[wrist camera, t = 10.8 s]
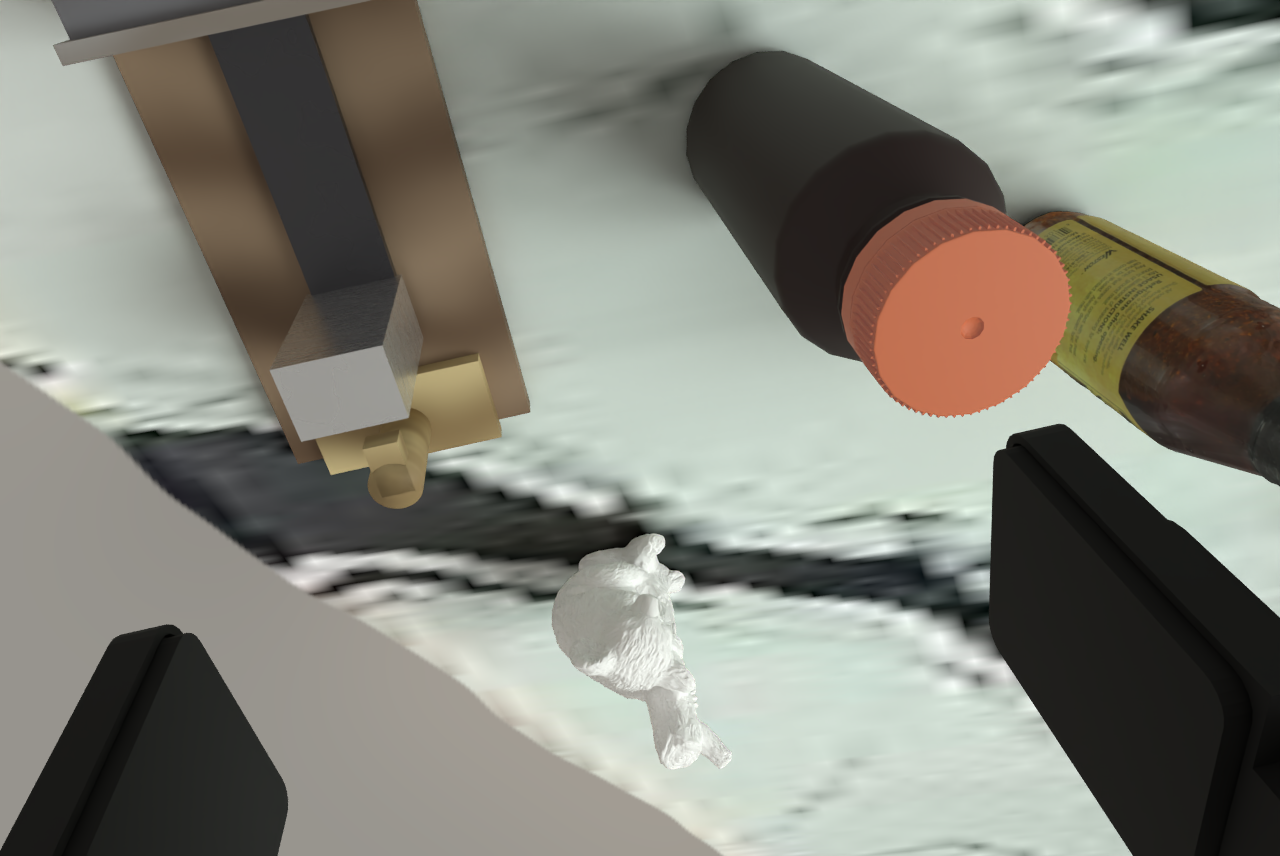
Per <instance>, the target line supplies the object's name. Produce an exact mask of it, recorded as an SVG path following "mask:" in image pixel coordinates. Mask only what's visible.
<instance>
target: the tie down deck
mask: <svg viewBox="0 0 1280 856" xmlns="http://www.w3.org/2000/svg"><path fill="white" fill-rule="evenodd" d="M52 2H53V4H54V6H55V8H56V11H57V13H58V15H59V17H60V19H61V21H62V23H63V25H64V27H65V30H66V32H67V34H68V36H69V38H70V40H68V41H65V42H61V43H58V44H55V45H53V47H54V49H55V51H56V53H57V55H58V57H59V59H60V61H61V63H62V65H63V66H65V65H70V64H75V63H79V62H84V61H89V60H93V59H98V58H103V57H107V56H112V55H113V57H114V59H115V61H116V63H117V65H118V68H119V70H120V72H121V74H122V77H123V79H124V81H125V83H126V85H127V88H128V90H129V92H130V94H131V96H132V99H133V101H134V103H135V105H136V107H137V110H138V112H139V114H140V116H141V118H142V121H143V123H144V125H145V127H146V129H147V132H148V134H149V136H150V138H151V140H152V143H153V145H154V147H155V149H156V151H157V154H158V156H159V158H160V160H161V162H162V165H163V167H164V169H165V171H166V174H167V176H168V178H169V180H170V182H171V185H172V187H173V189H174V191H175V193H176V196H177V198H178V200H179V202H180V204H181V207H182V209H183V211H184V213H185V215H186V218H187V220H188V222H189V224H190V226H191V229H192V231H193V233H194V235H195V237H196V240H197V242H198V244H199V246H200V248H201V251H202V253H203V255H204V257H205V259H206V262H207V264H208V266H209V268H210V271H211V273H212V275H213V277H214V279H215V282H216V284H217V286H218V288H219V290H220V293H221V295H222V297H223V299H224V301H225V304H226V306H227V308H228V310H229V312H230V315H231V317H232V319H233V321H234V323H235V326H236V328H237V330H238V332H239V334H240V337H241V339H242V341H243V343H244V345H245V348H246V350H247V352H248V354H249V356H250V359H251V361H252V363H253V365H254V367H255V370H256V372H257V374H258V376H259V379H260V381H261V383H262V385H263V387H264V390H265V392H266V394H267V396H268V398H269V401H270V403H271V405H272V407H273V409H274V412H275V414H276V416H277V418H278V420H279V423H280V425H281V427H282V429H283V431H284V434H285V436H286V438H287V440H288V442H289V445H290V447H291V449H292V451H293V453H294V456H295V458H296V460H297V462H298V464H300V463H304V462H309V461H313V460H318V459H322V458H324V460H325V462H326V465H327V467H328V469H329V472H330V474H331V475H333V474H338V473H342V472H347V471H351V470H355V469H360V468H364V467H370V470H371V471H370V475H369V480H368V490H369V493H370V495H371V496H372V498H373V499H374V500H375V501H376V502H377V503H379V504H381V505H383V506H385V507H388V508H394V509H399V508H405V507H408V506H411V505H413V504H414V503H415V502H417V501H418V500H419V498H420V497H421V495H422V493H423V487H424V480H425V473H426V465H427V458H428V453H432V452H436V451H441V450H445V449H450V448H454V447H459V446H463V445H468V444H472V443H477V442H481V441H486V440H490V439H495V438H499V437H501V425H500V422H499V419H502V418H507V417H511V416H516V415H520V414H525V413H529V412H530V401H529V398H528V394H527V391H526V387H525V384H524V380H523V376H522V373H521V369H520V366H519V362H518V359H517V355H516V351H515V348H514V344H513V341H512V337H511V334H510V330H509V327H508V323H507V319H506V316H505V312H504V309H503V305H502V302H501V298H500V295H499V291H498V287H497V284H496V280H495V277H494V273H493V270H492V266H491V262H490V259H489V255H488V252H487V248H486V245H485V241H484V238H483V234H482V230H481V227H480V223H479V220H478V216H477V213H476V209H475V206H474V202H473V198H472V195H471V191H470V188H469V184H468V181H467V177H466V173H465V170H464V166H463V163H462V159H461V156H460V152H459V149H458V145H457V141H456V138H455V134H454V131H453V127H452V124H451V120H450V117H449V113H448V109H447V106H446V102H445V99H444V95H443V92H442V88H441V84H440V81H439V77H438V74H437V70H436V67H435V63H434V60H433V56H432V52H431V49H430V45H429V42H428V38H427V35H426V31H425V28H424V24H423V20H422V17H421V13H420V10H419V6H418V3H417V0H52ZM305 14H308V15H309V18H310V21H311V24H312V27H313V30H314V33H315V36H316V38H317V41H318V44H319V47H320V50H321V53H322V56H323V59H324V62H325V65H326V68H327V71H328V74H329V77H330V80H331V83H332V85H333V88H334V91H335V94H336V97H337V100H338V103H339V106H340V109H341V112H342V115H343V118H344V121H345V124H346V127H347V130H348V132H349V135H350V138H351V141H352V144H353V147H354V150H355V153H356V156H357V159H358V162H359V165H360V168H361V171H362V174H363V177H364V179H365V182H366V185H367V188H368V191H369V194H370V197H371V200H372V203H373V206H374V209H375V212H376V215H377V218H378V221H379V224H380V226H381V229H382V232H383V235H384V238H385V241H386V244H387V247H388V250H389V253H390V256H391V259H392V262H393V265H394V268H395V271H396V273H397V275H399V274H402V276H403V279H404V282H405V285H406V288H407V291H408V294H409V297H410V300H411V303H412V306H413V309H414V312H415V315H416V318H417V321H418V324H419V327H420V330H421V333H422V336H423V343H422V349H421V354H420V360H419V365H418V371H417V376H416V382H415V387H414V393H413V398H412V404H411V409H410V415H409V418H407V419H402V420H398V421H393V422H389V423H384V424H380V425H375V426H371V427H366V428H361V429H357V430H352V431H348V432H343V433H339V434H334V435H330V436H325V437H321V438H316V439H312V440H307V441H303V442H301V440H300V438H299V436H298V433H297V431H296V429H295V427H294V424H293V422H292V420H291V418H290V415H289V413H288V411H287V409H286V406H285V404H284V402H283V400H282V397H281V395H280V393H279V391H278V388H277V386H276V384H275V382H274V379H273V377H272V375H271V373H270V368H271V366H272V364H273V362H274V360H275V358H276V356H277V354H278V352H279V350H280V348H281V346H282V344H283V342H284V340H285V338H286V336H287V334H288V332H289V330H290V328H291V325H292V323H293V321H294V319H295V317H296V315H297V313H298V311H299V309H300V307H301V305H302V303H303V301H304V299H305V297H306V295H307V294H311V293H310V290H309V288H308V285H307V283H306V280H305V278H304V275H303V273H302V270H301V268H300V265H299V263H298V260H297V258H296V255H295V253H294V250H293V248H292V245H291V243H290V240H289V238H288V235H287V233H286V230H285V228H284V225H283V222H282V220H281V217H280V215H279V212H278V210H277V207H276V205H275V202H274V200H273V197H272V195H271V192H270V190H269V187H268V185H267V182H266V180H265V177H264V175H263V172H262V170H261V167H260V165H259V162H258V160H257V157H256V155H255V152H254V150H253V147H252V145H251V142H250V140H249V137H248V135H247V132H246V129H245V127H244V124H243V122H242V119H241V117H240V114H239V112H238V109H237V107H236V104H235V102H234V99H233V97H232V94H231V92H230V89H229V87H228V84H227V82H226V79H225V77H224V74H223V72H222V69H221V67H220V64H219V62H218V59H217V57H216V54H215V52H214V49H213V47H212V44H211V42H210V39H209V36H208V35H211V34H216V33H220V32H225V31H230V30H234V29H239V28H244V27H248V26H253V25H258V24H263V23H267V22H272V21H277V20H281V19H286V18H291V17H295V16H300V15H305Z"/></svg>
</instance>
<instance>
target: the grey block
mask: <svg viewBox="0 0 1280 856" xmlns="http://www.w3.org/2000/svg"><path fill="white" fill-rule="evenodd" d="M208 36H209V39H210V42H211V44H212V47H213V49H214V52H215V54H216V57H217V59H218V62H219V64H220V67H221V69H222V72H223V74H224V77H225V79H226V82H227V84H228V87H229V89H230V92H231V94H232V97H233V99H234V102H235V104H236V107H237V109H238V112H239V114H240V117H241V119H242V122H243V124H244V127H245V129H246V132H247V135H248V137H249V140H250V142H251V145H252V147H253V150H254V152H255V155H256V157H257V160H258V162H259V165H260V167H261V170H262V172H263V175H264V177H265V180H266V182H267V185H268V187H269V190H270V192H271V195H272V197H273V200H274V202H275V205H276V207H277V210H278V212H279V215H280V217H281V220H282V222H283V225H284V228H285V230H286V233H287V235H288V238H289V240H290V243H291V245H292V248H293V250H294V253H295V255H296V258H297V260H298V263H299V265H300V268H301V270H302V273H303V275H304V278H305V280H306V283H307V285H308V288H309V290H310V293H311V294H307V295H306V297H305V299H304V301H303V303H302V305H301V307H300V309H299V311H298V313H297V315H296V317H295V319H294V321H293V323H292V325H291V328H290V330H289V332H288V334H287V336H286V338H285V340H284V342H283V344H282V346H281V348H280V350H279V352H278V354H277V356H276V358H275V360H274V362H273V364H272V366H271V368H270V373H271V375H272V377H273V379H274V382H275V384H276V386H277V388H278V391H279V393H280V395H281V397H282V400H283V402H284V404H285V406H286V409H287V411H288V413H289V415H290V418H291V420H292V422H293V424H294V427H295V429H296V431H297V433H298V436H299V438H300V440H301V442H303V441H307V440H312V439H316V438H321V437H325V436H330V435H334V434H339V433H343V432H348V431H352V430H357V429H361V428H366V427H371V426H375V425H380V424H384V423H389V422H393V421H398V420H402V419H407V418H409V415H410V409H411V404H412V398H413V393H414V387H415V382H416V376H417V371H418V365H419V360H420V354H421V349H422V343H423V336H422V333H421V330H420V327H419V324H418V321H417V318H416V315H415V312H414V309H413V306H412V303H411V300H410V297H409V294H408V291H407V288H406V285H405V282H404V279H403V276H402V274H399V275H397V273H396V271H395V268H394V265H393V262H392V259H391V256H390V253H389V250H388V247H387V244H386V241H385V238H384V235H383V232H382V229H381V226H380V224H379V221H378V218H377V215H376V212H375V209H374V206H373V203H372V200H371V197H370V194H369V191H368V188H367V185H366V182H365V179H364V177H363V174H362V171H361V168H360V165H359V162H358V159H357V156H356V153H355V150H354V147H353V144H352V141H351V138H350V135H349V132H348V130H347V127H346V124H345V121H344V118H343V115H342V112H341V109H340V106H339V103H338V100H337V97H336V94H335V91H334V88H333V85H332V83H331V80H330V77H329V74H328V71H327V68H326V65H325V62H324V59H323V56H322V53H321V50H320V47H319V44H318V41H317V38H316V36H315V33H314V30H313V27H312V24H311V21H310V18H309V15H308V14H305V15H300V16H295V17H291V18H286V19H281V20H277V21H272V22H267V23H263V24H258V25H253V26H248V27H244V28H239V29H234V30H230V31H225V32H220V33H216V34H211V35H208Z"/></svg>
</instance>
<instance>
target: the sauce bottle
mask: <svg viewBox="0 0 1280 856" xmlns="http://www.w3.org/2000/svg"><path fill="white" fill-rule="evenodd" d="M1024 227H1026V228H1027V229H1029V230H1030V231H1032V232H1033V233H1035V234H1037V235H1038V236H1039V237H1041V238H1042V239H1044V240H1045V241H1046V243H1048V244H1050V245H1051V246H1052V247H1051V248H1052V249H1054V250H1055V251H1057V253H1056V255H1058V256H1059V257H1061V259H1060V260H1059V261H1061V262H1062V263H1064V264H1065V266H1064V267H1063V269H1065V270H1066V271H1068V273H1067V274H1066V276H1067V277H1068V278H1069V279H1070V280H1069V281H1068V285H1070V286H1071V288H1070V289H1069V293H1070V294H1072V296H1071V297H1069V300H1070V302H1071V303H1072V304H1071V305H1070V309H1069V310H1070V311H1071V312H1070V313H1068V317H1067V318H1068V319H1070V320H1069V321H1067V322H1066V327H1067V329H1065V330H1064V334H1063V335H1064V337H1062V339H1061V340H1060V342H1059V343H1060V345H1058V346H1057V347H1056V349H1055V351H1056V353H1053V355H1052V356H1051V360H1050V361H1051V362H1053V363H1054V364H1055V365H1057V366H1058V367H1059V368H1060V369H1062V370H1063V371H1064V372H1065V373H1067V374H1068V375H1069V376H1070V377H1071V378H1073V379H1074V380H1075V381H1076V382H1078V383H1079V384H1080V385H1082V386H1084V387H1085V388H1087V389H1088V390H1090V391H1091V393H1093V394H1094V395H1095V396H1096V397H1098V398H1099V399H1101V400H1102V401H1103V402H1105V404H1107V405H1108V406H1110V407H1111V408H1113V409H1114V410H1115V411H1116V412H1118V413H1119V414H1120V415H1122V416H1123V417H1124V418H1126V420H1127V421H1129V422H1130V423H1132V424H1133V425H1134V426H1136V427H1137V428H1138V429H1139V430H1141V431H1142V432H1144V433H1145V434H1146V435H1148V436H1149V437H1150V438H1152V439H1153V440H1154V441H1156V442H1157V443H1159V444H1160V445H1162V446H1164V447H1166V448H1168V449H1170V450H1173V451H1176V452H1179V453H1183V454H1186V455H1190V456H1193V457H1197V458H1200V459H1204V460H1207V461H1210V462H1214V463H1217V464H1221V465H1224V466H1228V467H1231V468H1235V469H1238V470H1242V471H1245V472H1249V473H1252V474H1256V475H1259V476H1263V477H1264V478H1265V479H1267V480H1268V481H1269V482H1271V483H1274V484H1277V485H1279V486H1280V308H1278V307H1276V306H1274V305H1271V304H1269V303H1268V302H1266V301H1264V300H1261V299H1260V298H1259V297H1258V296H1257V295H1256V294H1255V293H1253V292H1252V291H1250V290H1248V289H1247V288H1245V287H1242V286H1240V285H1238V284H1236V283H1234V282H1232V281H1230V280H1228V279H1226V278H1224V277H1221V276H1219V275H1217V274H1215V273H1213V272H1211V271H1209V270H1207V269H1205V268H1203V267H1201V266H1199V265H1197V264H1195V263H1193V262H1191V261H1189V260H1187V259H1185V258H1183V257H1181V256H1179V255H1177V254H1175V253H1172V252H1170V251H1168V250H1166V249H1164V248H1162V247H1160V246H1158V245H1156V244H1154V243H1152V242H1150V241H1148V240H1146V239H1144V238H1142V237H1140V236H1138V235H1135V234H1133V233H1131V232H1129V231H1127V230H1125V229H1123V228H1121V227H1119V226H1117V225H1115V224H1113V223H1111V222H1109V221H1107V220H1104V219H1102V218H1098V217H1094V216H1088V215H1085V214H1082V213H1075V212H1061V211H1060V212H1050V213H1047V214H1045V215H1041V216H1039V217H1037V218H1035V219H1033V220H1032V221H1031V222H1029V223H1027V224H1026V225H1025V226H1024Z"/></svg>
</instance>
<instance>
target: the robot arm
mask: <svg viewBox="0 0 1280 856" xmlns="http://www.w3.org/2000/svg"><path fill="white" fill-rule="evenodd" d="M989 625H990V630H991V634H992V637H993V640H994V642H995V645H996V647H997V648H998V650H999V652H1000V654H1001V655H1002V657H1003V658H1004V660H1005V661H1006V663H1007V664H1008V666H1009V667H1010V669H1011V670H1012V672H1013V673H1014V675H1015V676H1016V678H1017V680H1018V681H1019V683H1020V684H1021V686H1022V687H1023V689H1024V690H1025V692H1026V693H1027V695H1028V696H1029V698H1030V699H1031V701H1032V702H1033V704H1034V705H1035V707H1036V709H1037V710H1038V712H1039V713H1040V715H1041V716H1042V718H1043V719H1044V721H1045V722H1046V724H1047V725H1048V727H1049V728H1050V730H1051V731H1052V733H1053V734H1054V736H1055V737H1056V739H1057V741H1058V742H1059V744H1060V745H1061V747H1062V748H1063V750H1064V751H1065V753H1066V754H1067V756H1068V757H1069V759H1070V760H1071V762H1072V763H1073V765H1074V766H1075V768H1076V769H1077V771H1078V773H1079V774H1080V776H1081V777H1082V779H1083V780H1084V782H1085V783H1086V785H1087V786H1088V788H1089V789H1090V791H1091V792H1092V794H1093V795H1094V797H1095V798H1096V800H1097V802H1098V803H1099V805H1100V806H1101V808H1102V809H1103V811H1104V812H1105V814H1106V815H1107V817H1108V818H1109V820H1110V821H1111V823H1112V824H1113V826H1114V827H1115V829H1116V830H1117V832H1118V834H1119V835H1120V837H1121V838H1122V840H1123V841H1124V843H1125V844H1126V846H1127V847H1128V849H1129V850H1130V852H1131V853H1132V855H1133V856H1280V617H1278V616H1277V615H1276V614H1275V613H1274V612H1273V611H1272V610H1271V609H1270V608H1269V607H1268V606H1267V605H1266V604H1265V603H1263V602H1262V601H1261V600H1260V599H1259V598H1258V597H1257V596H1256V595H1255V594H1254V593H1253V592H1252V591H1251V590H1249V589H1248V588H1247V587H1246V586H1245V585H1244V584H1243V583H1242V582H1241V581H1240V580H1239V579H1238V578H1237V577H1235V576H1234V575H1233V574H1232V573H1231V572H1230V571H1229V570H1228V569H1227V568H1226V567H1225V566H1224V565H1223V564H1221V563H1220V562H1219V561H1218V560H1217V559H1216V558H1215V557H1214V556H1213V555H1212V554H1211V553H1210V552H1209V551H1207V550H1206V549H1205V548H1204V547H1203V546H1202V545H1201V544H1200V543H1199V542H1198V541H1197V540H1196V539H1195V538H1194V537H1192V536H1191V535H1190V534H1189V533H1188V532H1187V531H1186V530H1185V529H1183V528H1182V527H1181V526H1179V525H1178V524H1176V523H1175V522H1174V521H1170V520H1167V519H1166V518H1165V517H1164V516H1163V515H1162V514H1161V513H1160V512H1159V511H1158V510H1156V509H1155V508H1154V507H1153V506H1152V505H1151V504H1150V503H1149V502H1148V501H1147V500H1146V499H1145V498H1144V497H1143V496H1142V495H1141V494H1139V493H1138V492H1137V491H1136V490H1135V489H1134V488H1133V487H1132V486H1131V485H1130V484H1129V483H1128V482H1127V481H1126V480H1125V479H1124V478H1122V477H1121V476H1120V475H1119V474H1118V473H1117V472H1116V471H1115V470H1114V469H1113V468H1112V467H1111V466H1110V465H1109V464H1108V463H1106V462H1105V461H1104V460H1103V459H1102V458H1101V457H1100V456H1099V455H1098V454H1097V453H1096V452H1095V451H1094V450H1093V449H1092V448H1091V447H1089V446H1088V445H1087V444H1086V443H1085V442H1084V441H1083V440H1082V439H1081V438H1080V437H1079V436H1078V435H1077V434H1076V433H1075V432H1073V431H1072V430H1071V429H1070V428H1069V427H1067V426H1066V425H1064V424H1056V425H1051V426H1047V427H1042V428H1038V429H1033V430H1029V431H1025V432H1020V433H1016V434H1013V435H1011V436H1010V437H1009V439H1008V441H1007V445H1006V449H1002V450H999V451H997V452H996V454H995V456H994V462H993V496H992V530H991V564H990V599H989ZM287 811H288V797H287V791H286V787H285V784H284V782H283V779H282V778H281V776H280V774H279V773H278V771H277V769H276V768H275V766H274V764H273V763H272V761H271V759H270V758H269V756H268V754H267V753H266V751H265V749H264V748H263V746H262V744H261V743H260V741H259V739H258V737H257V736H256V734H255V732H254V731H253V729H252V727H251V726H250V724H249V722H248V721H247V719H246V717H245V716H244V714H243V712H242V711H241V709H240V707H239V706H238V704H237V702H236V700H235V699H234V697H233V695H232V694H231V692H230V690H229V689H228V687H227V685H226V684H225V682H224V680H223V679H222V677H221V675H220V674H219V672H218V670H217V669H216V667H215V665H214V663H213V662H212V660H211V658H210V657H209V655H208V654H207V652H206V650H205V648H204V647H203V645H202V643H201V642H200V640H199V639H198V638H197V636H195V635H194V634H192V633H185V634H183V633H182V632H181V631H180V629H179V628H177V627H176V626H174V625H162V626H158V627H154V628H149V629H144V630H140V631H136V632H132V633H127V634H122V635H119V636H117V637H116V638H114V639H113V640H112V641H111V643H110V644H109V646H108V647H107V649H106V651H105V653H104V655H103V657H102V659H101V661H100V662H99V664H98V666H97V668H96V670H95V672H94V674H93V676H92V678H91V680H90V682H89V683H88V685H87V687H86V689H85V691H84V693H83V695H82V697H81V698H80V700H79V702H78V704H77V706H76V708H75V710H74V712H73V714H72V716H71V717H70V719H69V721H68V724H67V725H66V727H65V729H64V731H63V733H62V735H61V736H60V738H59V740H58V742H57V744H56V746H55V748H54V750H53V752H52V754H51V756H50V757H49V759H48V761H47V763H46V765H45V767H44V769H43V771H42V773H41V774H40V776H39V778H38V780H37V782H36V784H35V786H34V788H33V789H32V791H31V793H30V795H29V797H28V799H27V801H26V803H25V805H24V807H23V808H22V810H21V812H20V814H19V816H18V818H17V820H16V822H15V824H14V826H13V827H12V830H11V831H10V833H9V835H8V837H7V839H6V841H5V843H4V844H3V846H2V849H1V850H0V856H277V855H278V851H279V847H280V842H281V838H282V834H283V829H284V825H285V821H286V817H287Z"/></svg>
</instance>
